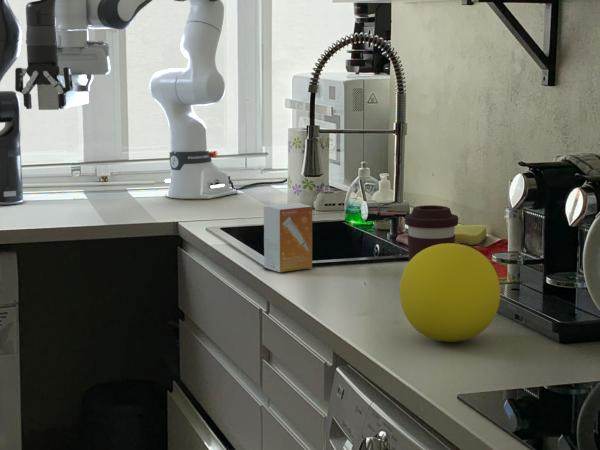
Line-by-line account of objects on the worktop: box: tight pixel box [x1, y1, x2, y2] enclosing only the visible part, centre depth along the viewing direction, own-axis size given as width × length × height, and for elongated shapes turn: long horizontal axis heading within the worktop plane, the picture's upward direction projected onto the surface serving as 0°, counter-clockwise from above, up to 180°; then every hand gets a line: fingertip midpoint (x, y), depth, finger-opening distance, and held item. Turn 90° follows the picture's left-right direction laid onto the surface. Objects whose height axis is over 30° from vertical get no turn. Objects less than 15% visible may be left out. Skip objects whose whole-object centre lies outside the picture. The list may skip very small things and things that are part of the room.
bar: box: [36, 73, 90, 111], centre depth 280 cm, size 26×5×9 cm, turn 175°
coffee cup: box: [404, 204, 459, 262], centre depth 197 cm, size 10×10×15 cm
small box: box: [263, 202, 313, 273], centre depth 214 cm, size 8×6×13 cm
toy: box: [399, 243, 501, 343], centre depth 160 cm, size 15×15×15 cm
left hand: (45, 108), depth 266 cm, fingers open, 8 cm apart
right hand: (74, 91), depth 290 cm, fingers closed on bar, 5 cm apart
